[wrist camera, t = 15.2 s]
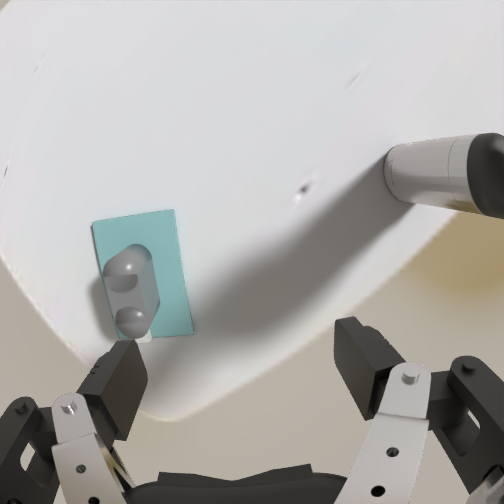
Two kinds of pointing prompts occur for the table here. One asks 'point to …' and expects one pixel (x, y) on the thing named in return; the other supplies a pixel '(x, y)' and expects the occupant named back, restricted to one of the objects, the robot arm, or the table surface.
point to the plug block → (132, 291)
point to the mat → (164, 261)
